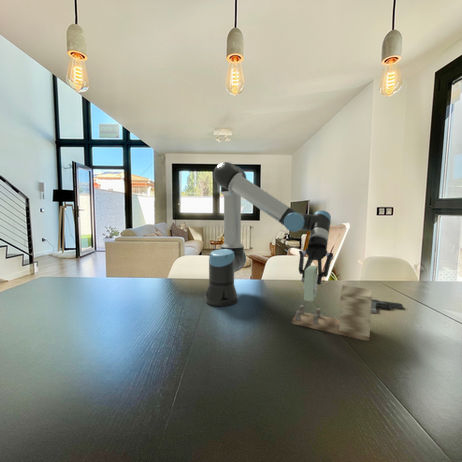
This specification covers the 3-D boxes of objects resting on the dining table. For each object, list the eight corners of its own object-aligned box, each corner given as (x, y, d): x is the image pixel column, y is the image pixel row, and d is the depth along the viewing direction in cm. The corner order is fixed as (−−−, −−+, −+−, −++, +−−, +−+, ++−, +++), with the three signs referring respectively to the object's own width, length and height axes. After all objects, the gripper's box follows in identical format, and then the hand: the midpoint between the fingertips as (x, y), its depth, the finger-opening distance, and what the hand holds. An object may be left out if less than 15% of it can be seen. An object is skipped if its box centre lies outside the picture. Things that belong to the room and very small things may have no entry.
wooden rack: (292, 323, 89) (293, 285, 88) (297, 314, 97) (298, 279, 96) (369, 341, 77) (371, 297, 76) (368, 329, 85) (370, 289, 84)
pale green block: (300, 299, 87) (301, 269, 86) (305, 292, 95) (306, 265, 94) (312, 301, 85) (313, 271, 84) (316, 294, 93) (317, 266, 92)
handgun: (412, 314, 96) (400, 301, 107) (363, 307, 100) (357, 296, 112) (411, 320, 96) (399, 307, 107) (363, 313, 101) (356, 301, 112)
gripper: (339, 247, 99) (333, 299, 86) (300, 245, 107) (289, 292, 94) (338, 236, 94) (332, 288, 81) (297, 234, 102) (286, 282, 89)
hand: (309, 290), depth 87 cm, fingers closed on pale green block, 3 cm apart
